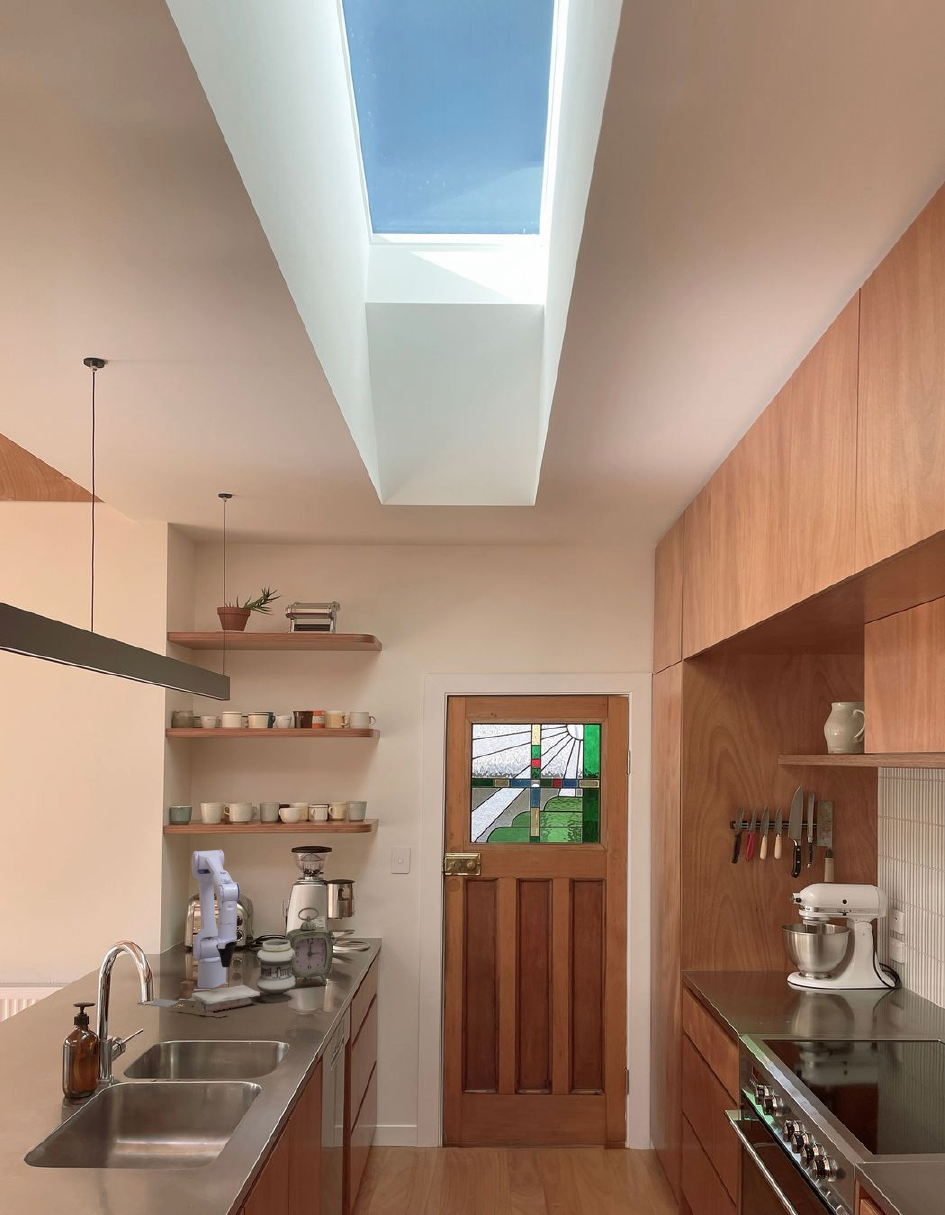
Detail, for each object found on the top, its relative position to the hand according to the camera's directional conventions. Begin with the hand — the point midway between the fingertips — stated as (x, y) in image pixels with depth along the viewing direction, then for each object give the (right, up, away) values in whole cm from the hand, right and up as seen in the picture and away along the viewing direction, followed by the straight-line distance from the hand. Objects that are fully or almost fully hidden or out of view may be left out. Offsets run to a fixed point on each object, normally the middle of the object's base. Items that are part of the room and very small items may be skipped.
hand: (226, 966), depth 334 cm
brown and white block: (-9, -10, -1) cm, 14 cm away
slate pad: (-19, -10, -6) cm, 22 cm away
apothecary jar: (+16, -10, -1) cm, 19 cm away
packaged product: (-1, -7, -6) cm, 9 cm away
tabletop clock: (+23, -12, +17) cm, 31 cm away
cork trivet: (-5, -9, -13) cm, 17 cm away
